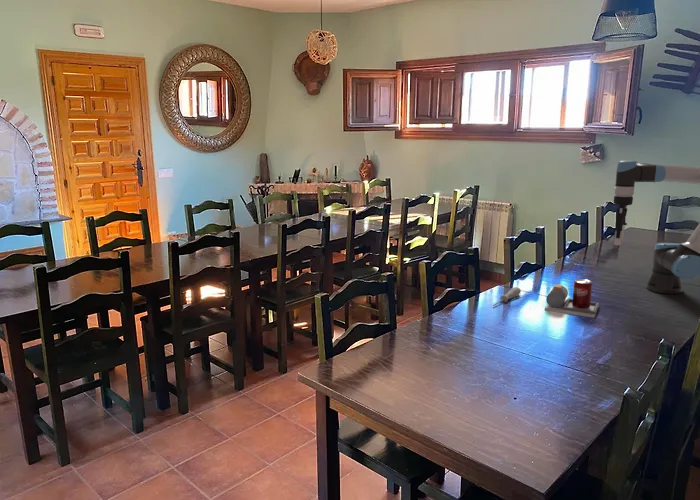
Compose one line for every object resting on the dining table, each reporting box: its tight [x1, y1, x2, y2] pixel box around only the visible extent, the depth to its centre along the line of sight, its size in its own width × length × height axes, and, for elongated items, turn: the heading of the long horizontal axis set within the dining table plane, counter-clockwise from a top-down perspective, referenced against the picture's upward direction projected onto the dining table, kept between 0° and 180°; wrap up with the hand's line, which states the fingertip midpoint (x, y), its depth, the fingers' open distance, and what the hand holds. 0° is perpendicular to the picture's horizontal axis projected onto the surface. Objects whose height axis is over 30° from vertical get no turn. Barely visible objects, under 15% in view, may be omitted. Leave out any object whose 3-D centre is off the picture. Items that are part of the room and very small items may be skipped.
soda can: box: [572, 278, 593, 310], centre depth 226 cm, size 7×7×12 cm
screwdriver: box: [492, 286, 522, 307], centre depth 241 cm, size 5×25×4 cm, turn 136°
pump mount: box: [544, 283, 600, 319], centre depth 229 cm, size 20×16×9 cm
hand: (618, 242), depth 236 cm, fingers open, 13 cm apart
